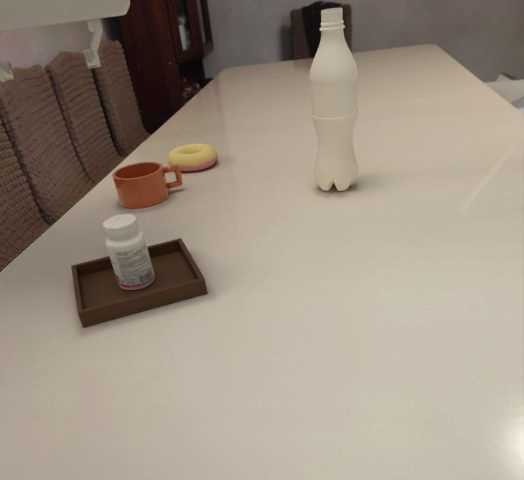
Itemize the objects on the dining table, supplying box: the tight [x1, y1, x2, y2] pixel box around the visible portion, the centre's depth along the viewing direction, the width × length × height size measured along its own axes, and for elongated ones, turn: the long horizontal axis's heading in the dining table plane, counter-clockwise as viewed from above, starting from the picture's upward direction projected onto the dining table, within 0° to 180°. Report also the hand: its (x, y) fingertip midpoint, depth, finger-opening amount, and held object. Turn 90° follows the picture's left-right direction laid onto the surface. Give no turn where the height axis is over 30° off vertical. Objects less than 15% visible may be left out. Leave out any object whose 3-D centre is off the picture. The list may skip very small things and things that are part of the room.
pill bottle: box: [102, 213, 155, 290], centre depth 66 cm, size 5×5×8 cm
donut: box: [167, 143, 218, 172], centre depth 105 cm, size 10×5×9 cm
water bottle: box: [308, 7, 359, 192], centre depth 81 cm, size 7×7×25 cm
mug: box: [111, 161, 184, 209], centre depth 93 cm, size 12×9×5 cm
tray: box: [71, 237, 208, 328], centre depth 68 cm, size 15×13×2 cm
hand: (52, 73), depth 60 cm, fingers open, 8 cm apart
